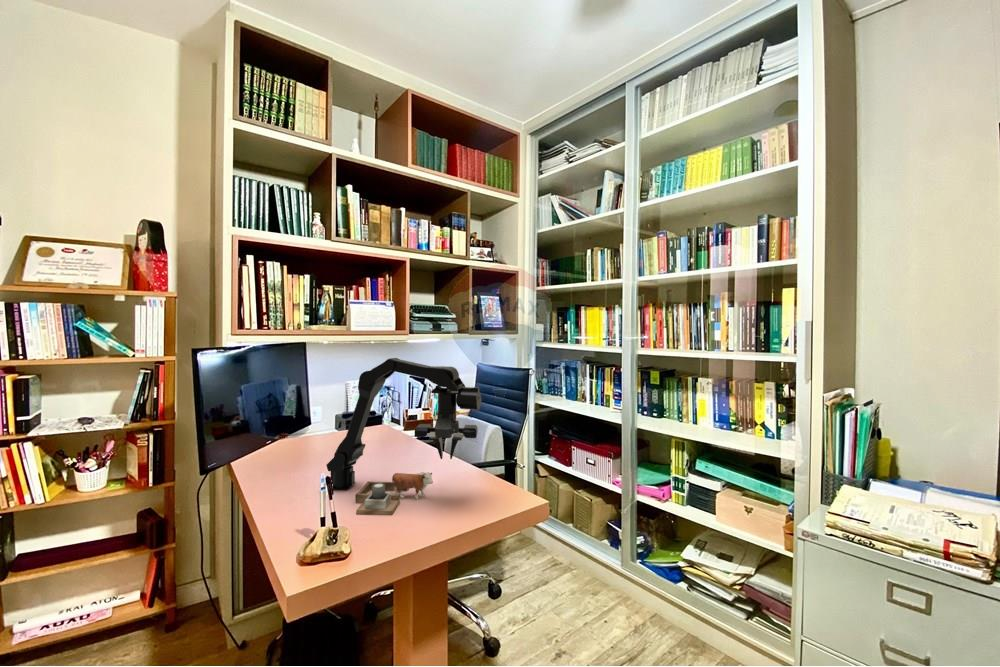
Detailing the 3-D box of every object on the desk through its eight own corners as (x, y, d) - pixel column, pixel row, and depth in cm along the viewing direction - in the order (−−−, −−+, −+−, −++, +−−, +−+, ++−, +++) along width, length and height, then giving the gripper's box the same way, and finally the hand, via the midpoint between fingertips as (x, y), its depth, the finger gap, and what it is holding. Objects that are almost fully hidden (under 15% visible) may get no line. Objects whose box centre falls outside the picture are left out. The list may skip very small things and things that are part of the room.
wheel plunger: (370, 498, 115) (370, 487, 115) (374, 493, 119) (374, 482, 119) (382, 499, 115) (382, 487, 115) (386, 493, 118) (386, 483, 118)
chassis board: (345, 514, 113) (345, 500, 113) (367, 489, 131) (367, 477, 131) (392, 515, 113) (392, 501, 113) (407, 490, 131) (407, 478, 131)
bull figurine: (431, 502, 122) (431, 475, 122) (389, 497, 125) (390, 471, 125) (436, 496, 126) (436, 470, 126) (396, 492, 129) (396, 466, 129)
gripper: (410, 412, 117) (409, 466, 117) (475, 414, 117) (474, 468, 117) (418, 405, 129) (418, 455, 129) (478, 406, 128) (477, 456, 128)
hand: (446, 458), depth 125 cm, fingers open, 3 cm apart
